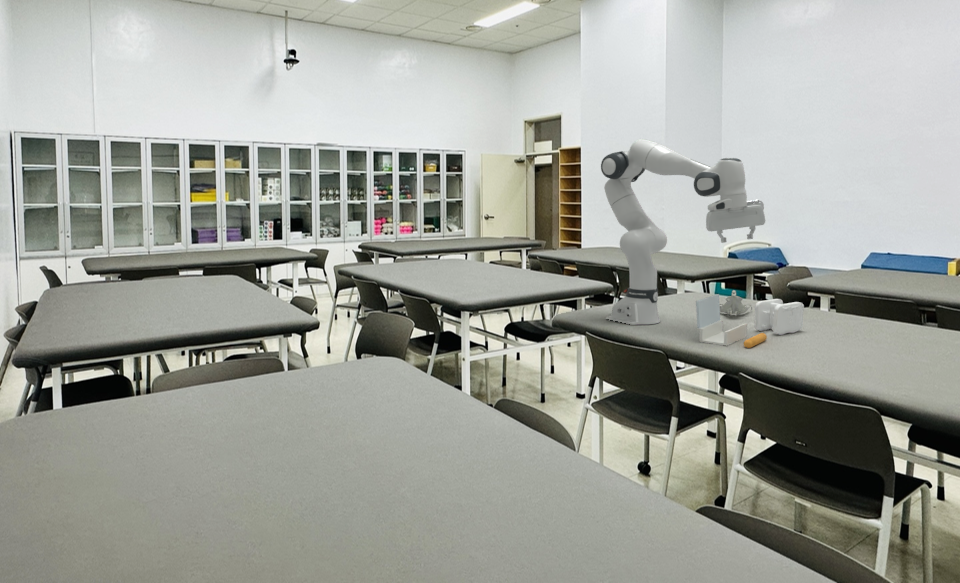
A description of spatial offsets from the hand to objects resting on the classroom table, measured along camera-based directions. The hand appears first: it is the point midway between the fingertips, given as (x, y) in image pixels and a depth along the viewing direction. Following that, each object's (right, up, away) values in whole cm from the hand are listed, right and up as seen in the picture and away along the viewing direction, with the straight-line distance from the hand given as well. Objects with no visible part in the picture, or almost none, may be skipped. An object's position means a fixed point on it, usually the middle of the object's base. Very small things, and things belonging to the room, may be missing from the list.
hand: (737, 240), depth 232 cm
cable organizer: (+21, -34, +11) cm, 41 cm away
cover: (-9, -26, +3) cm, 27 cm away
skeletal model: (+16, -29, +44) cm, 55 cm away
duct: (-5, -36, +1) cm, 36 cm away
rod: (+4, -37, -7) cm, 38 cm away
